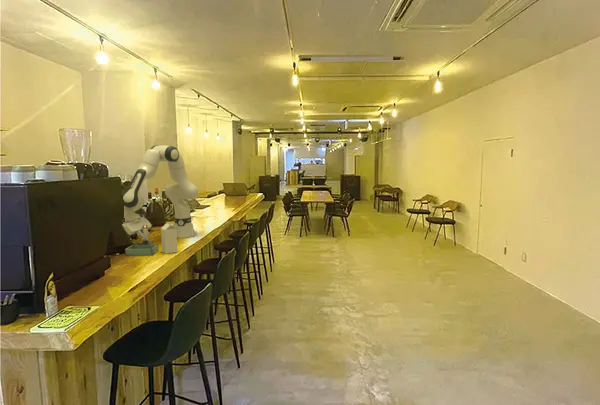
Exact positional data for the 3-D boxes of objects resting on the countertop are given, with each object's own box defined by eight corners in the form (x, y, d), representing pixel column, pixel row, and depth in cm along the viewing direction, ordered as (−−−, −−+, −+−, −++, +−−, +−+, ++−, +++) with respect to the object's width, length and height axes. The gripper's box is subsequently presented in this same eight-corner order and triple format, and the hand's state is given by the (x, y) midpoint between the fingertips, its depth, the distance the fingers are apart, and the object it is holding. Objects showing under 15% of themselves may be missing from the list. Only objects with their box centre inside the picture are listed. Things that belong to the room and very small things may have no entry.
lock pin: (144, 248, 238) (143, 225, 237) (149, 248, 239) (147, 225, 237) (142, 249, 235) (141, 226, 234) (147, 249, 236) (146, 226, 234)
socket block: (142, 248, 240) (141, 240, 240) (153, 248, 241) (152, 240, 240) (138, 251, 233) (137, 243, 233) (149, 250, 234) (149, 243, 233)
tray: (132, 251, 233) (131, 245, 232) (158, 250, 234) (157, 244, 233) (125, 255, 222) (124, 249, 221) (152, 255, 223) (152, 249, 222)
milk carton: (166, 254, 226) (164, 223, 224) (162, 251, 232) (160, 222, 229) (177, 252, 231) (176, 222, 228) (173, 250, 236) (172, 220, 234)
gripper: (123, 219, 226) (138, 236, 225) (144, 214, 246) (158, 229, 245) (117, 226, 228) (132, 242, 227) (139, 220, 247) (152, 235, 246)
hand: (146, 235), depth 236 cm, fingers closed on lock pin, 3 cm apart
